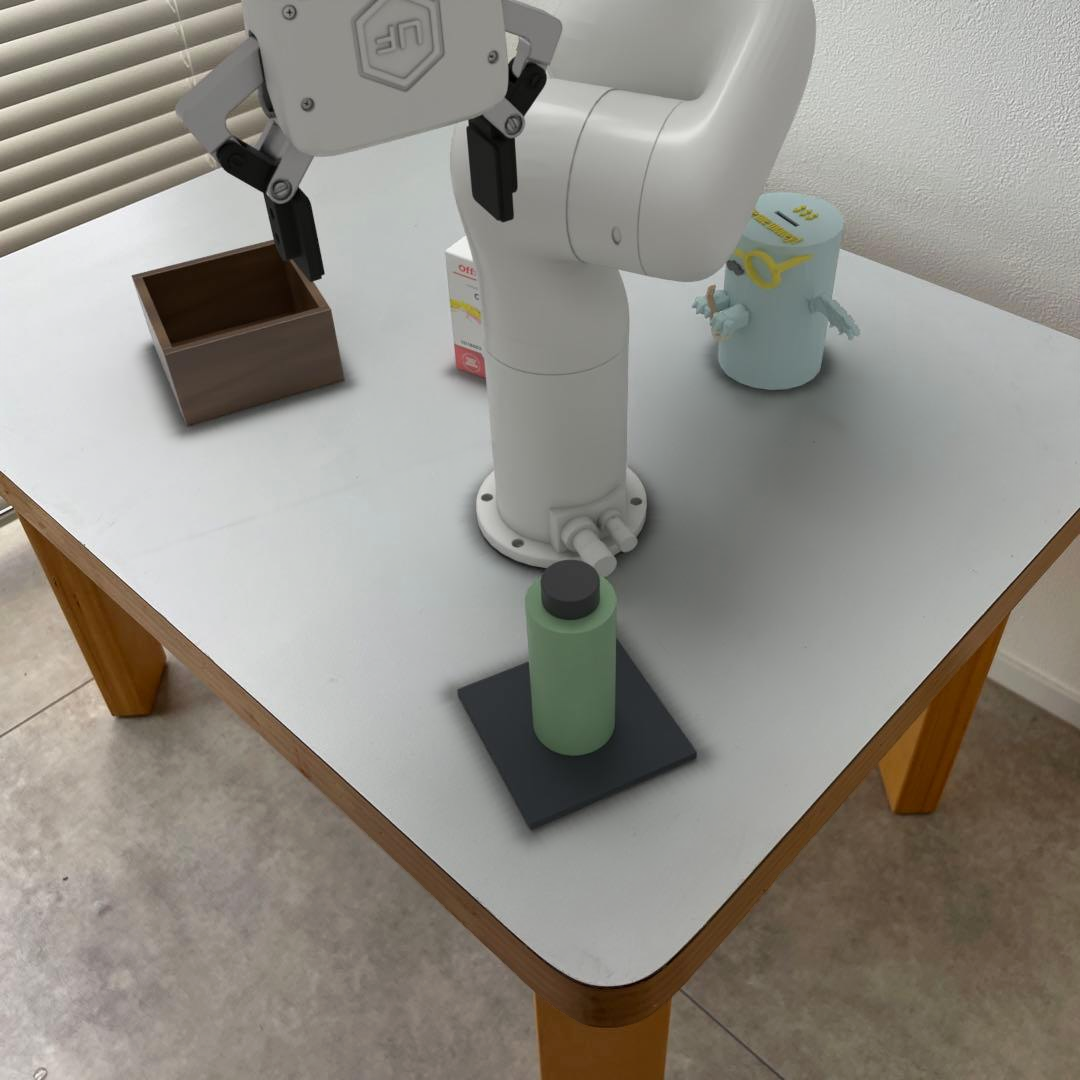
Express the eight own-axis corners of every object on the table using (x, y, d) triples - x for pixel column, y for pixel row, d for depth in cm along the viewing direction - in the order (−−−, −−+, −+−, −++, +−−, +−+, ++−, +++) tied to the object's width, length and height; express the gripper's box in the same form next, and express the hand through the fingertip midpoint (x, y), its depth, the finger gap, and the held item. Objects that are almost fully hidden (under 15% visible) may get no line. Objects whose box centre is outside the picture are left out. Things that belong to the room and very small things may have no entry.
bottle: (629, 736, 69) (633, 594, 60) (555, 768, 67) (548, 626, 59) (591, 679, 72) (590, 536, 63) (520, 708, 70) (508, 565, 62)
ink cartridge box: (453, 372, 98) (436, 215, 88) (485, 344, 101) (472, 188, 91) (537, 402, 94) (530, 242, 84) (568, 371, 97) (564, 213, 87)
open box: (345, 383, 97) (331, 309, 92) (188, 430, 93) (164, 355, 88) (299, 308, 106) (284, 236, 101) (154, 347, 102) (131, 274, 97)
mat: (696, 757, 68) (697, 752, 68) (530, 830, 65) (530, 824, 64) (610, 635, 75) (610, 629, 75) (457, 694, 72) (456, 689, 72)
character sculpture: (636, 329, 102) (640, 188, 92) (741, 292, 105) (755, 153, 96) (774, 450, 89) (794, 300, 79) (888, 403, 92) (920, 255, 83)
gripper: (137, -117, 37) (253, 332, 48) (598, -200, 42) (600, 221, 54) (84, -163, 41) (201, 255, 53) (504, -232, 47) (525, 161, 59)
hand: (402, 237), depth 54 cm, fingers open, 9 cm apart
